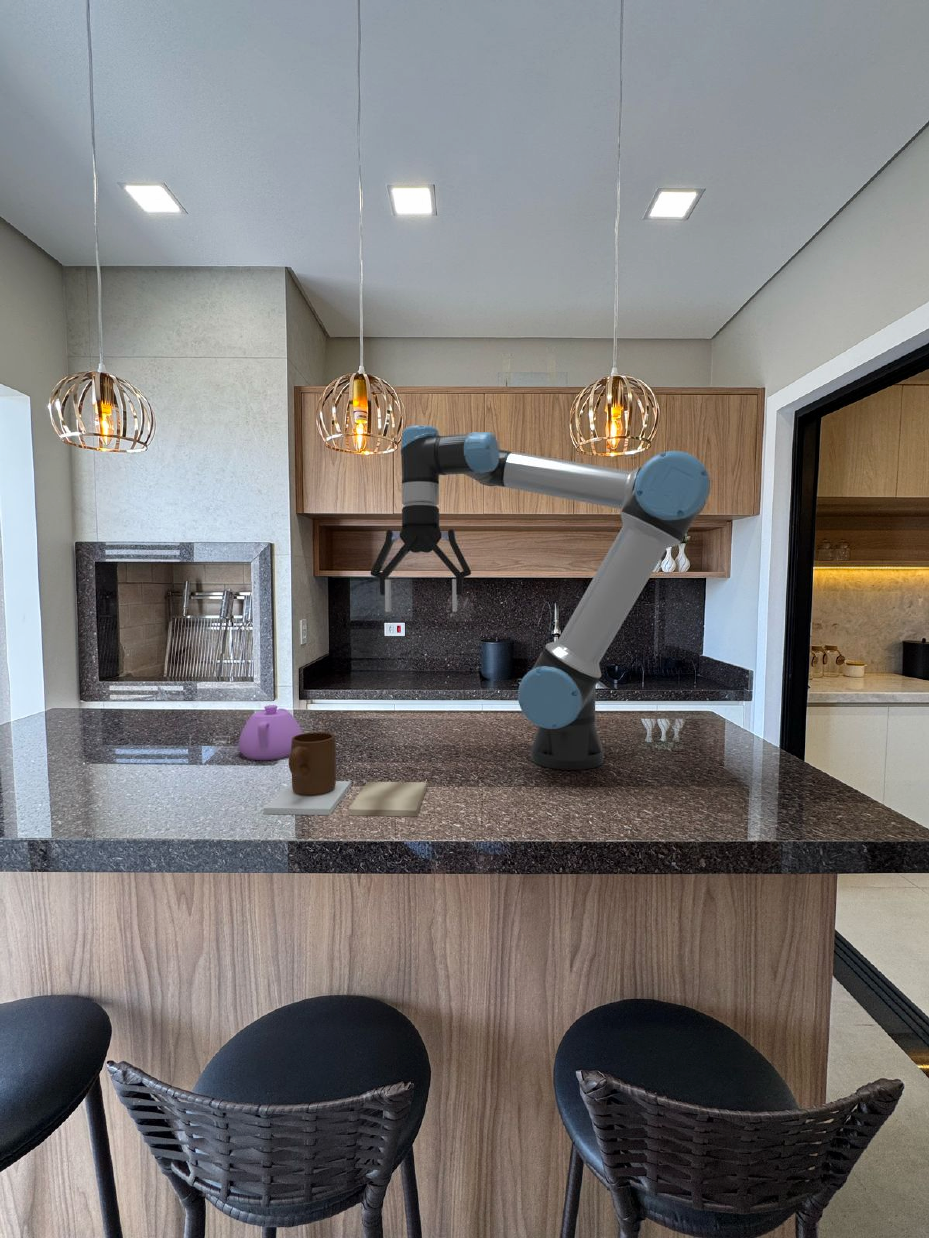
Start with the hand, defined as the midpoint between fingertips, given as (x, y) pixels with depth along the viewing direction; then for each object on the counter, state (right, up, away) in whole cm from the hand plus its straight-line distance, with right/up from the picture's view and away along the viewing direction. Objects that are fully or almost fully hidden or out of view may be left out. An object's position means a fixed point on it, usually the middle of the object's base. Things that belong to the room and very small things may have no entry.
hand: (421, 611), depth 124 cm
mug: (-18, -32, -18) cm, 41 cm away
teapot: (-34, -32, +13) cm, 48 cm away
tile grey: (-18, -33, -18) cm, 42 cm away
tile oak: (-4, -33, -19) cm, 38 cm away
